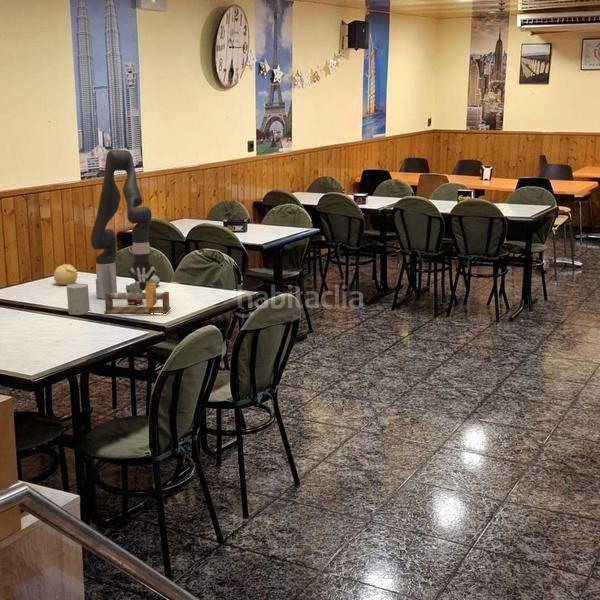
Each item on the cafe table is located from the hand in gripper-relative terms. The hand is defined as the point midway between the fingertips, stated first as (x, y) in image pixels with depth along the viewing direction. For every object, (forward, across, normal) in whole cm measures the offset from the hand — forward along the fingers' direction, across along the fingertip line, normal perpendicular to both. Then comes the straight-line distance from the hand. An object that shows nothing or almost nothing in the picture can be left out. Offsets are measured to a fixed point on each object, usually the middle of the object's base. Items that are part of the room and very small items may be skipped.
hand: (143, 290), depth 387 cm
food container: (+11, +7, -17) cm, 21 cm away
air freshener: (+10, +10, -55) cm, 57 cm away
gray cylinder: (+11, +30, 0) cm, 32 cm away
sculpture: (+11, +55, -60) cm, 82 cm away
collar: (+7, -4, 0) cm, 8 cm away
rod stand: (+10, +3, 0) cm, 11 cm away
